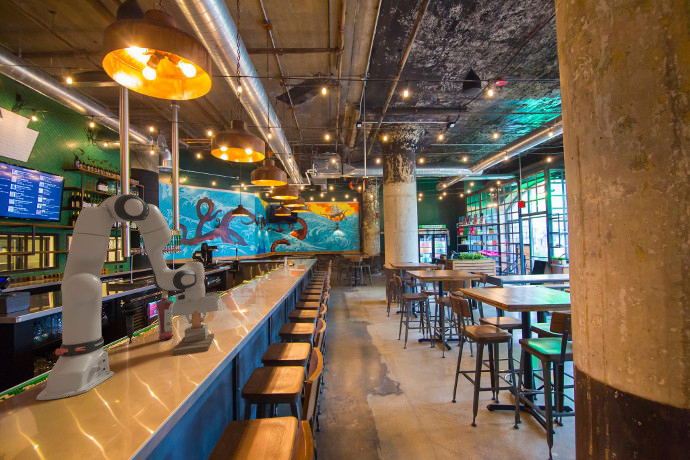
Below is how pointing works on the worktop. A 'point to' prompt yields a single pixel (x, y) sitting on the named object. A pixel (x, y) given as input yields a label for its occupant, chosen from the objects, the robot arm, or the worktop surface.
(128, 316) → the microphone
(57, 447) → the worktop surface
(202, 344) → the well board
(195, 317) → the peg
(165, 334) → the liquor
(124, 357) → the worktop surface
